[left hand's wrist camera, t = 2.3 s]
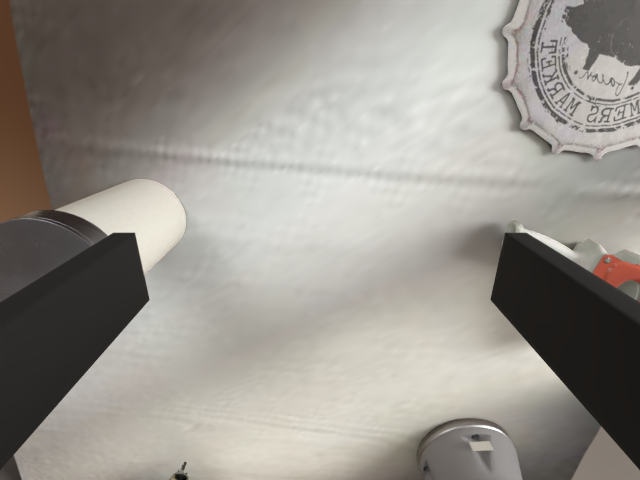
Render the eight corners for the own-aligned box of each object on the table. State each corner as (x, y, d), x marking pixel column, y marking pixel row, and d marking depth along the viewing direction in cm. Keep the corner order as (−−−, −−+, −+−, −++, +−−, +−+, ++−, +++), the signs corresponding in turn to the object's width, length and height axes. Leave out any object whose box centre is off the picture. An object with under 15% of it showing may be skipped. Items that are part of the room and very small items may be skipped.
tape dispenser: (487, 220, 42) (521, 347, 48) (506, 233, 37) (541, 373, 43) (642, 167, 39) (659, 310, 45) (685, 174, 34) (698, 334, 40)
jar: (176, 261, 43) (101, 343, 28) (103, 235, 42) (-16, 306, 27) (194, 196, 40) (121, 249, 25) (116, 166, 39) (-10, 204, 24)
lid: (117, 336, 30) (103, 352, 28) (-3, 298, 29) (-28, 313, 27) (141, 237, 27) (126, 248, 25) (5, 189, 25) (-23, 196, 23)
